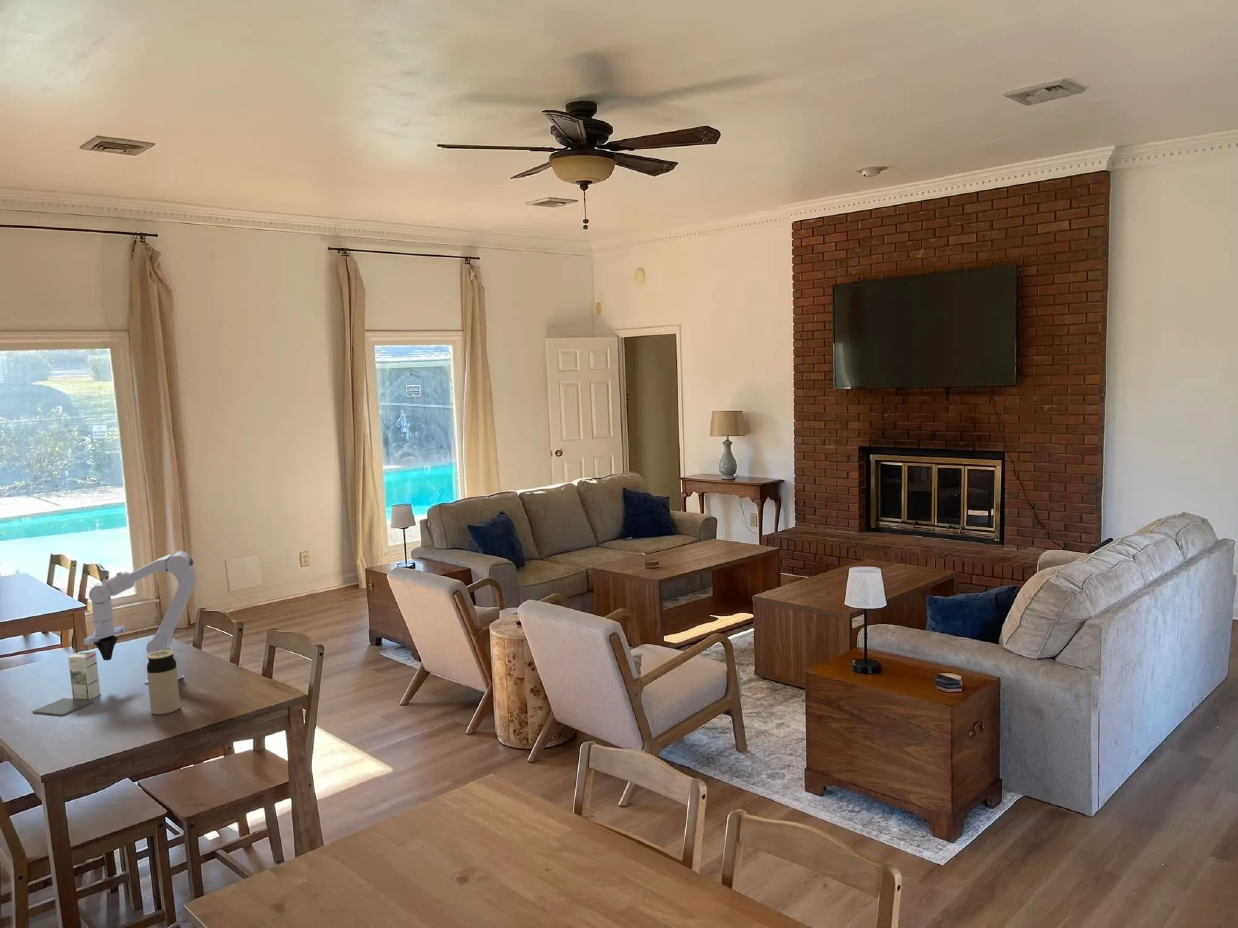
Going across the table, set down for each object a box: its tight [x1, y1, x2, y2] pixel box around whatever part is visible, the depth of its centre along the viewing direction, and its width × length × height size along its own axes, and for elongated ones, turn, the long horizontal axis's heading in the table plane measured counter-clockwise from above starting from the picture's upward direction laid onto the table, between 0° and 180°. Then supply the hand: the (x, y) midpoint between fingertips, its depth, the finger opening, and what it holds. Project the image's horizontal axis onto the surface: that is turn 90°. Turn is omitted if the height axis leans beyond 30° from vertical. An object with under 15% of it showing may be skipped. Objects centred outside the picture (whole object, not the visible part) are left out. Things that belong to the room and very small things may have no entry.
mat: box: [32, 697, 95, 717], centre depth 276 cm, size 12×11×1 cm
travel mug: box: [146, 649, 181, 716], centre depth 270 cm, size 8×8×18 cm
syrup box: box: [68, 651, 101, 701], centre depth 284 cm, size 6×6×14 cm
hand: (107, 659), depth 293 cm, fingers closed
